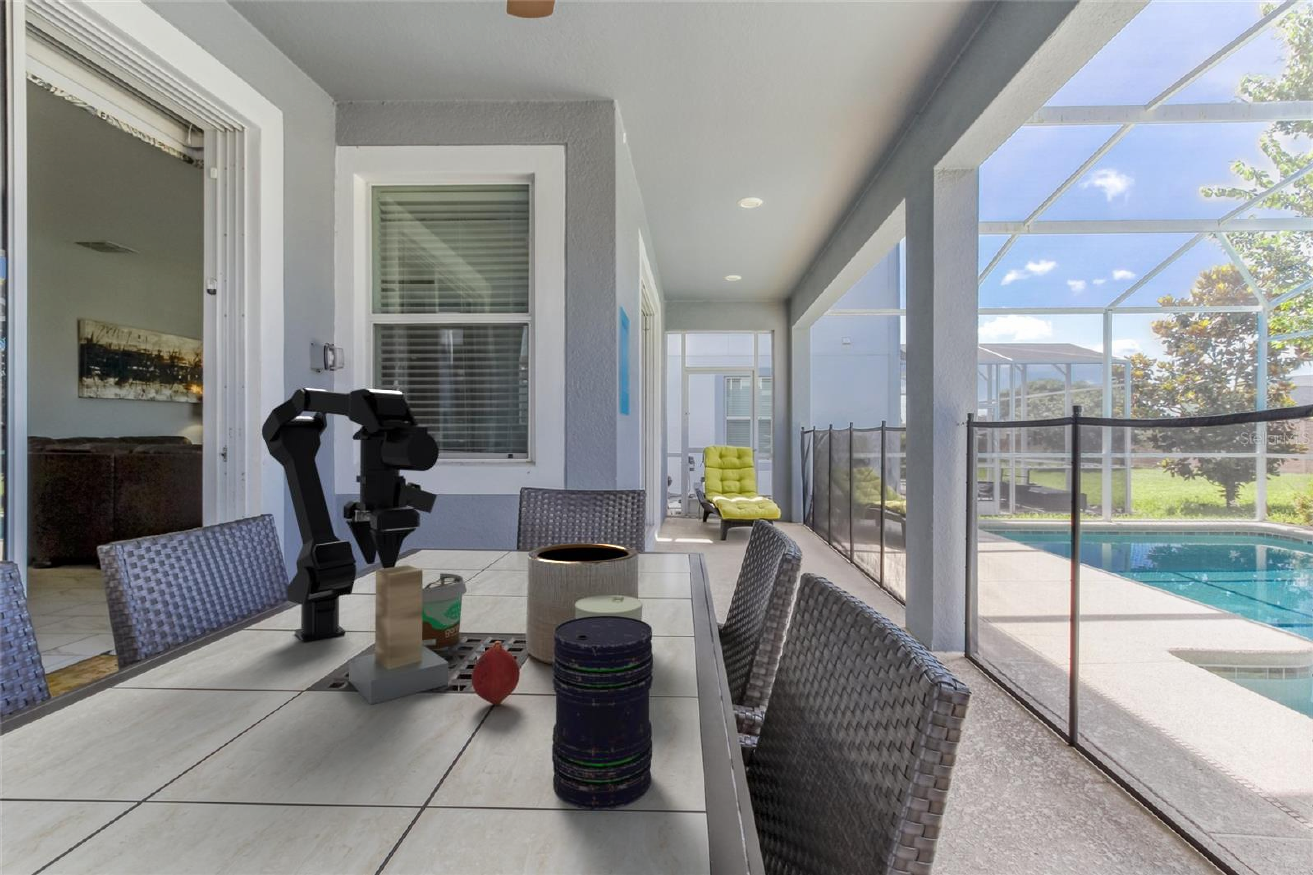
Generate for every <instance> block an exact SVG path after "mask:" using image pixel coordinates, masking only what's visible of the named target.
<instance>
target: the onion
mask: <svg viewBox="0 0 1313 875" xmlns="http://www.w3.org/2000/svg"><path fill="white" fill-rule="evenodd" d="M520 674H521V671H520V667H519V664H518V662H517V660H516V658H515V657H514V656H513V655H512V653H511V652H509V651H508V650H507V649H505V648H503V642H502V641H501V640H496V641H495V642H494V643H493V644H492V645H491V646H490V648H488V649H487V650H485V651H484V652H483V653H482V654H481V655H480V656H479V658H478V660H477V661H476V662H475V664H474V666H473V669H472V672H471V676H470V677H471V679H470V680H471V685H472V687H473V689H474V692H475V693H476V695H477V696H478V697H480V698H481V699H482V700H484V701H486V702H489V703H490V704H492V705H494V706H498V705H501V704H502V702H503V701H504V700H506V698H508V697H509V696H510V695H511V694H512V693H513V692H514V691H515V690H516V687H517V686H518V684H519V681H520Z"/></svg>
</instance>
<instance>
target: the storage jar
mask: <svg viewBox="0 0 1313 875" xmlns="http://www.w3.org/2000/svg"><path fill="white" fill-rule="evenodd" d="M652 640H653V628H652V626H651V625H650V624H649V623H647V622H645V621H643V620H642V621H641V620H637V619H633V618H628V617H621V616H591V617H583V618H578V619H573V620H570V621H567V622H564V623H562V624H560V625H559V626H557V627H556V628H555V630H554V641H555V645H554V656H553V665H552V671H553V678H552V684H553V690H554V693H555V697H556V698H555V724H554V725H553V728H552V746H551V754H552V755H551V758H552V759H551V760H552V763H553V764H552V768H553V769H552V770H553V778H552V787H553V791H554V793H555V794H556V796H557V797H558V798H559V799H560V800H561V801H563V802H564V803H566V804H568V805H571V806H572V807H576V808H580V809H585V810H594V811H603V810H613V809H619V808H621V807H625V806H628V805H631V804H633V803H635V802H637V801H638V800H640V799H641V798H643V797H644V796H645V795H646V793H647V792H648V791H649V790H650V788H651V785H652V772H651V767H652V758H653V740H652V736H653V731H652V730H653V729H652V722H651V720H650V691H651V689H652V686H653V680H654V675H653V667H654V666H653V665H654V664H653V663H654V655H653V643H652Z"/></svg>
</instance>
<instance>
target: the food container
mask: <svg viewBox="0 0 1313 875" xmlns="http://www.w3.org/2000/svg"><path fill="white" fill-rule="evenodd" d="M466 585H467V584H466V582H465V580H464V578H463V576H461V575H458V574H456V573H455V574H454V573H448V572H447V573H444V572H442V573H441V572H440V573H439V579H438V580H436V581H433V582H429V583H428V584H426V585H425V587H424V588H423V587H422V645H424V646H425V647H427V648H428V649H430V650H431V651H433V650H438V649H443V648H446V647H449V646H452V645H455V644H456V643H458V641H459V639H460V628H461V619H462V618H461V616H462V615H461V614H462V604H463V595H464V594H466V593H467V586H466Z"/></svg>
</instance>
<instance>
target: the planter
mask: <svg viewBox="0 0 1313 875" xmlns="http://www.w3.org/2000/svg"><path fill="white" fill-rule="evenodd" d="M526 583H527V584H526V585H527V590H526V591H527V592H526V624H525V625H526V626H525V628H526V629H525V630H526V632H525V643H526V650H527V652H528V654H529V655H531V656H532V657H533V658H534V659H536V660H538V661H540V662H542V663H545V664H548V665H552V666H553V656H554V645H555V641H554V630H555V628H556V627H557V626H559V625H560V624H562V623H564V622H567V621H570V620H573V619H576V610H575V604H576V602H577V601H579V600H581V599H584V598H587V597H592V596H600V595H620V596H628V597H633V598H636V599H638V600H639V552H638V550H636V549H634V548H632V547H630V546H625V545H619V544H613V543H602V542H601V543H599V542H589V543H588V542H580V543H579V542H578V543H576V542H574V543H562V544H554V545H546V546H541V547H538V548H534V549H533V550H531V551H529V552H528V553H527V582H526Z"/></svg>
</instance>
